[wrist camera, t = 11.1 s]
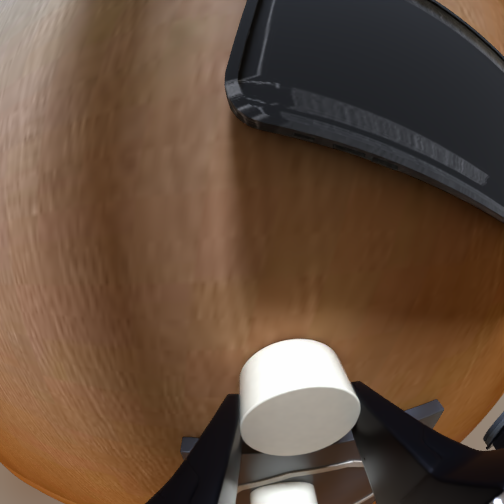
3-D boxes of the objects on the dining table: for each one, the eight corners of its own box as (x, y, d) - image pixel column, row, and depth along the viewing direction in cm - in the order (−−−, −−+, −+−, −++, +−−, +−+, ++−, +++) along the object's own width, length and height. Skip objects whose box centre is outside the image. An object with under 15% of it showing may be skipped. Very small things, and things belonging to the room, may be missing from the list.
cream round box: (347, 332, 9) (373, 375, 7) (332, 405, 10) (347, 446, 8) (235, 341, 9) (234, 391, 7) (241, 413, 10) (242, 460, 8)
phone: (271, -62, 4) (542, 101, 5) (268, -45, 5) (529, 102, 6) (213, 118, 6) (535, 242, 7) (218, 126, 7) (521, 236, 8)
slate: (437, 398, 11) (445, 410, 10) (361, 505, 16) (364, 512, 15) (182, 436, 11) (179, 453, 9) (222, 522, 15) (222, 530, 14)
